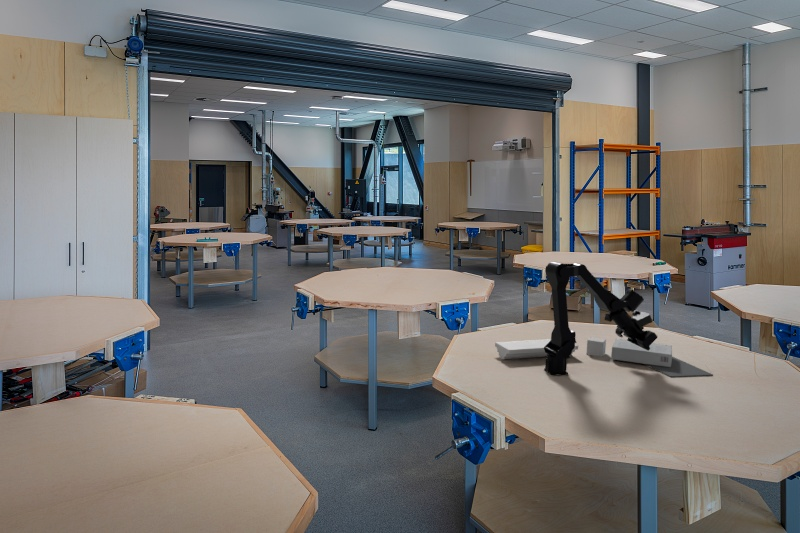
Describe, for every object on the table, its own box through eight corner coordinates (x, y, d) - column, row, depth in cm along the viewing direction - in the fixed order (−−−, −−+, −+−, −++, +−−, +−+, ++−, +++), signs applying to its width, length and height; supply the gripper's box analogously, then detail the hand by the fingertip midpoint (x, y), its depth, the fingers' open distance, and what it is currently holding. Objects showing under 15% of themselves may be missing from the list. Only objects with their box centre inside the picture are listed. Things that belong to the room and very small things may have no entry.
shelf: (494, 355, 223) (495, 342, 222) (561, 350, 232) (561, 338, 231) (508, 363, 212) (508, 350, 211) (577, 358, 221) (578, 345, 220)
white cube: (586, 354, 226) (587, 339, 226) (589, 351, 231) (590, 336, 231) (602, 357, 223) (602, 342, 222) (605, 353, 228) (606, 339, 228)
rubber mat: (668, 355, 227) (668, 354, 227) (713, 375, 203) (713, 374, 202) (629, 356, 224) (629, 355, 224) (670, 377, 200) (670, 376, 199)
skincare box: (670, 369, 209) (671, 357, 223) (672, 354, 208) (672, 343, 222) (610, 360, 218) (614, 349, 232) (611, 346, 217) (615, 336, 231)
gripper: (654, 310, 199) (680, 340, 202) (624, 300, 217) (648, 328, 220) (632, 333, 198) (658, 362, 202) (604, 321, 216) (628, 348, 220)
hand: (648, 349), depth 211 cm, fingers closed
